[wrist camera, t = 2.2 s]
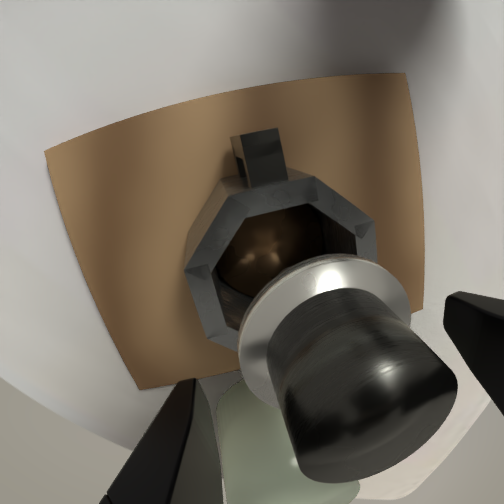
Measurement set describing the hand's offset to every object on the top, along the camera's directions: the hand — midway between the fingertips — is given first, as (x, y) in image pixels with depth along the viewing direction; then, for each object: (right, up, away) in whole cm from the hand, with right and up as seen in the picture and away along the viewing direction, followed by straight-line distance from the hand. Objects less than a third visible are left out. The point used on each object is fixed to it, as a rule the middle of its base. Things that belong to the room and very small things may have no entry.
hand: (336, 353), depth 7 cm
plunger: (-1, +1, +4) cm, 4 cm away
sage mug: (-1, -8, +13) cm, 15 cm away
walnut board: (-1, +3, +9) cm, 10 cm away
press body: (-1, +3, +8) cm, 9 cm away
